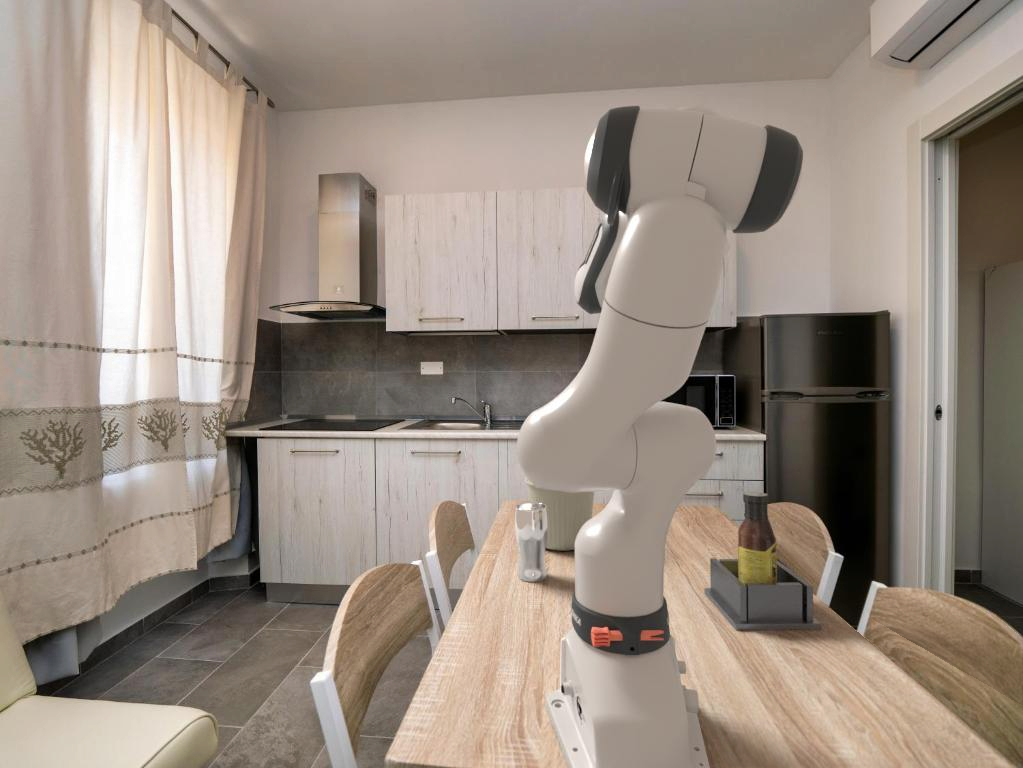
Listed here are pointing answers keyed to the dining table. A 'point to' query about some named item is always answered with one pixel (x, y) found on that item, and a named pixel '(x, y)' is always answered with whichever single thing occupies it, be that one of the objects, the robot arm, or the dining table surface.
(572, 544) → the canister
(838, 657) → the dining table surface
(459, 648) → the dining table surface
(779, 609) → the square socket
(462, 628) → the dining table surface
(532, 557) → the beer glass
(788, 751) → the dining table surface
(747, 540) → the sauce bottle
